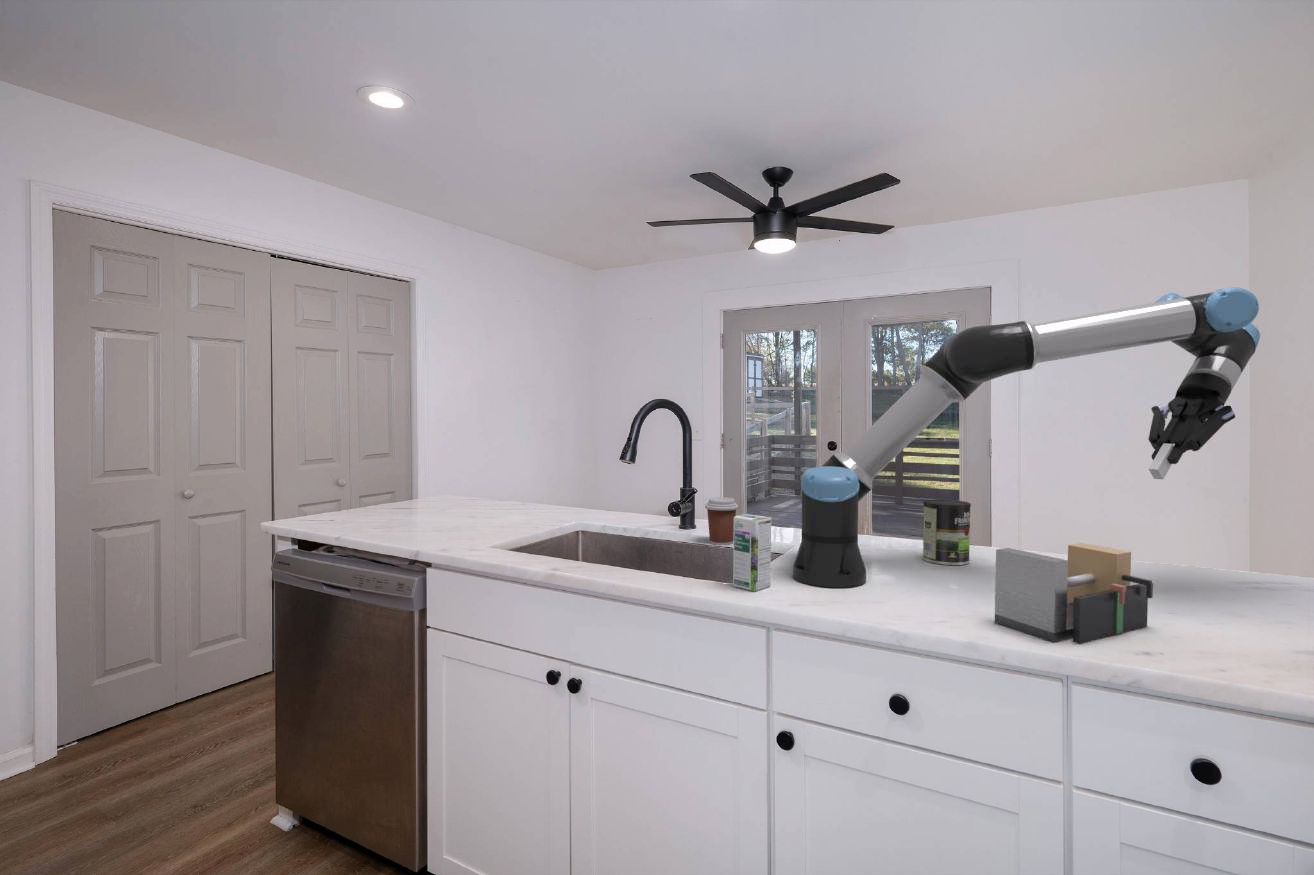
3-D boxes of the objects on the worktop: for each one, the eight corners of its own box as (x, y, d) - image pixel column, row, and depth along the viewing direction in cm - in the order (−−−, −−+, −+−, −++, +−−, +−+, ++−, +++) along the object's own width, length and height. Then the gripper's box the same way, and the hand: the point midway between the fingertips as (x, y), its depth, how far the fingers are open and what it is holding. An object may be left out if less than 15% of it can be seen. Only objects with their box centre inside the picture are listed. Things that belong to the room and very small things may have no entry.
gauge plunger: (1080, 597, 113) (1082, 543, 112) (1157, 617, 102) (1159, 557, 101) (1045, 604, 109) (1046, 548, 108) (1121, 626, 98) (1123, 563, 97)
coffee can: (978, 561, 148) (979, 502, 147) (955, 568, 142) (956, 506, 141) (936, 553, 156) (937, 497, 155) (913, 559, 150) (914, 501, 149)
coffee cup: (729, 547, 163) (729, 502, 163) (698, 543, 168) (699, 499, 168) (743, 541, 171) (743, 498, 170) (713, 538, 176) (714, 495, 175)
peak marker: (1114, 600, 99) (1114, 583, 99) (1125, 603, 98) (1126, 586, 98) (1110, 601, 99) (1110, 584, 99) (1121, 604, 97) (1122, 587, 97)
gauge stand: (1076, 605, 114) (1077, 538, 114) (1152, 626, 103) (1154, 551, 102) (994, 622, 105) (996, 549, 104) (1069, 647, 94) (1071, 565, 93)
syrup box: (731, 586, 127) (731, 516, 126) (749, 581, 131) (749, 512, 130) (754, 592, 123) (754, 519, 122) (772, 586, 127) (772, 516, 126)
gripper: (1257, 398, 116) (1206, 491, 110) (1175, 399, 128) (1124, 484, 122) (1243, 368, 114) (1190, 463, 107) (1161, 372, 125) (1109, 458, 119)
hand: (1155, 474), depth 115 cm, fingers closed
